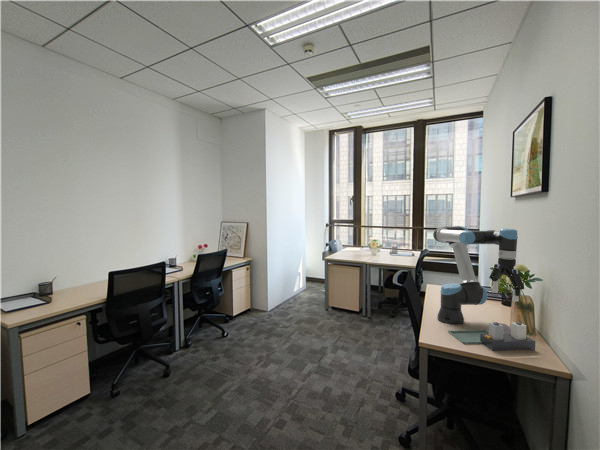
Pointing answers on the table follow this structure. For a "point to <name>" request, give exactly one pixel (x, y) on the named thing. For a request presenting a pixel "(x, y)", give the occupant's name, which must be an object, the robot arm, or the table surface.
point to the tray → (468, 336)
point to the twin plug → (496, 331)
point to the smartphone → (506, 328)
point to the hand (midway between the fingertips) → (504, 296)
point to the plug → (518, 330)
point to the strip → (507, 343)
